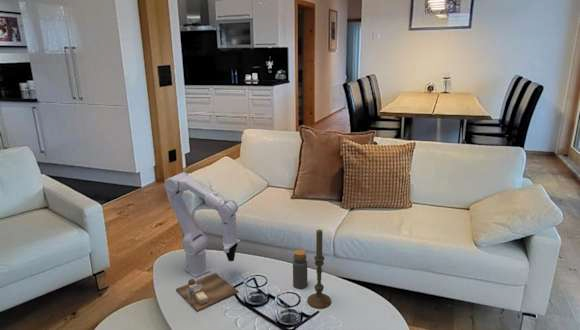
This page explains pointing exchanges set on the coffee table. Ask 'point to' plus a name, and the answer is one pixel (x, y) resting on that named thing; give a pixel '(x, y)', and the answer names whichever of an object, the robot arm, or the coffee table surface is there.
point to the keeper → (193, 289)
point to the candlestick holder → (319, 278)
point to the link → (198, 293)
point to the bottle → (300, 269)
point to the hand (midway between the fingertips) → (231, 260)
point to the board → (210, 291)
